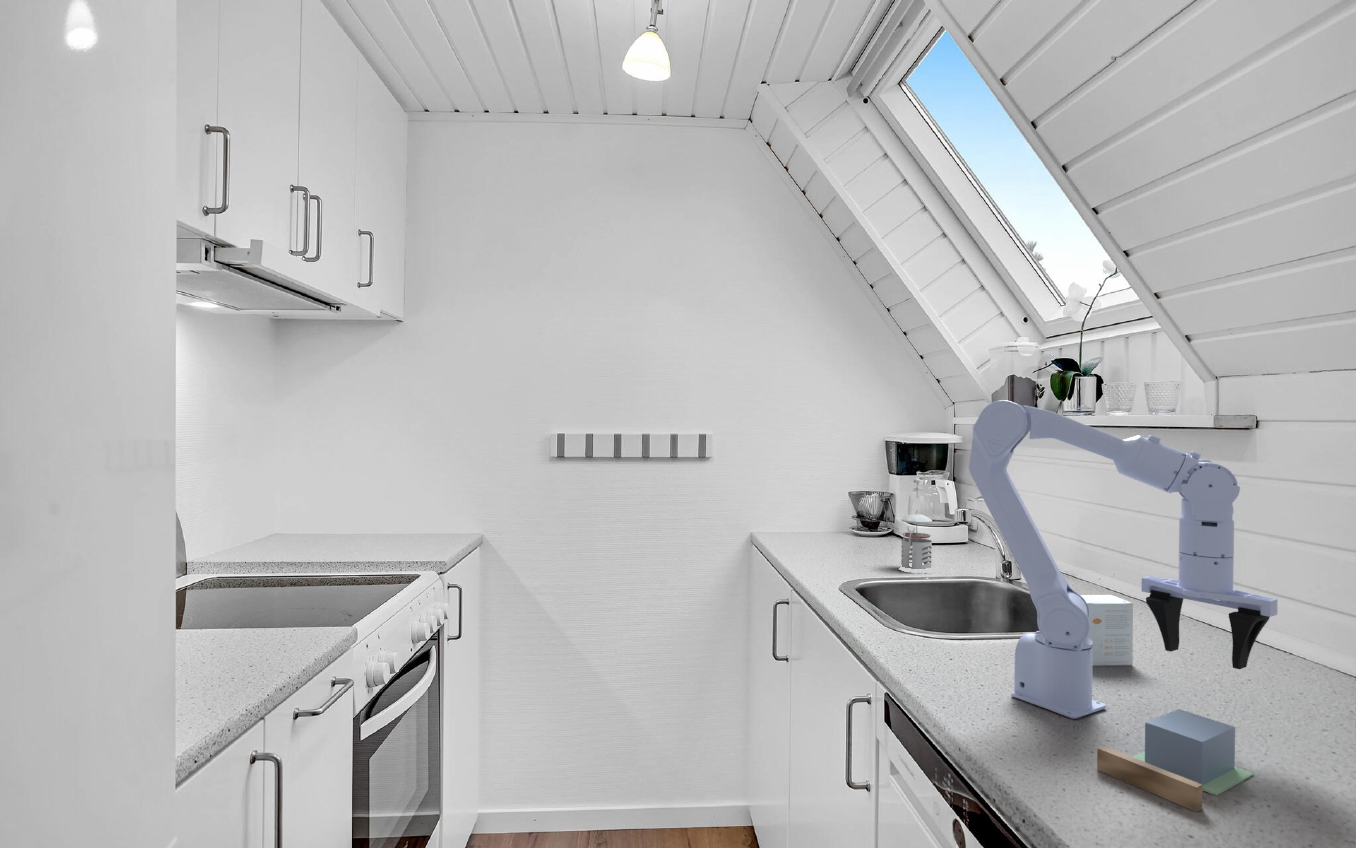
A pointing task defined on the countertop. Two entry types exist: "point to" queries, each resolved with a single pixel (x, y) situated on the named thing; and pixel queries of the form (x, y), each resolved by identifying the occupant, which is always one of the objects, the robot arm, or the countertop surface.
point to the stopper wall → (1150, 778)
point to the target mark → (1218, 778)
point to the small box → (1110, 629)
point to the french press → (916, 542)
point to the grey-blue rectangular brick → (1190, 745)
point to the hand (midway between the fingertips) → (1204, 658)
